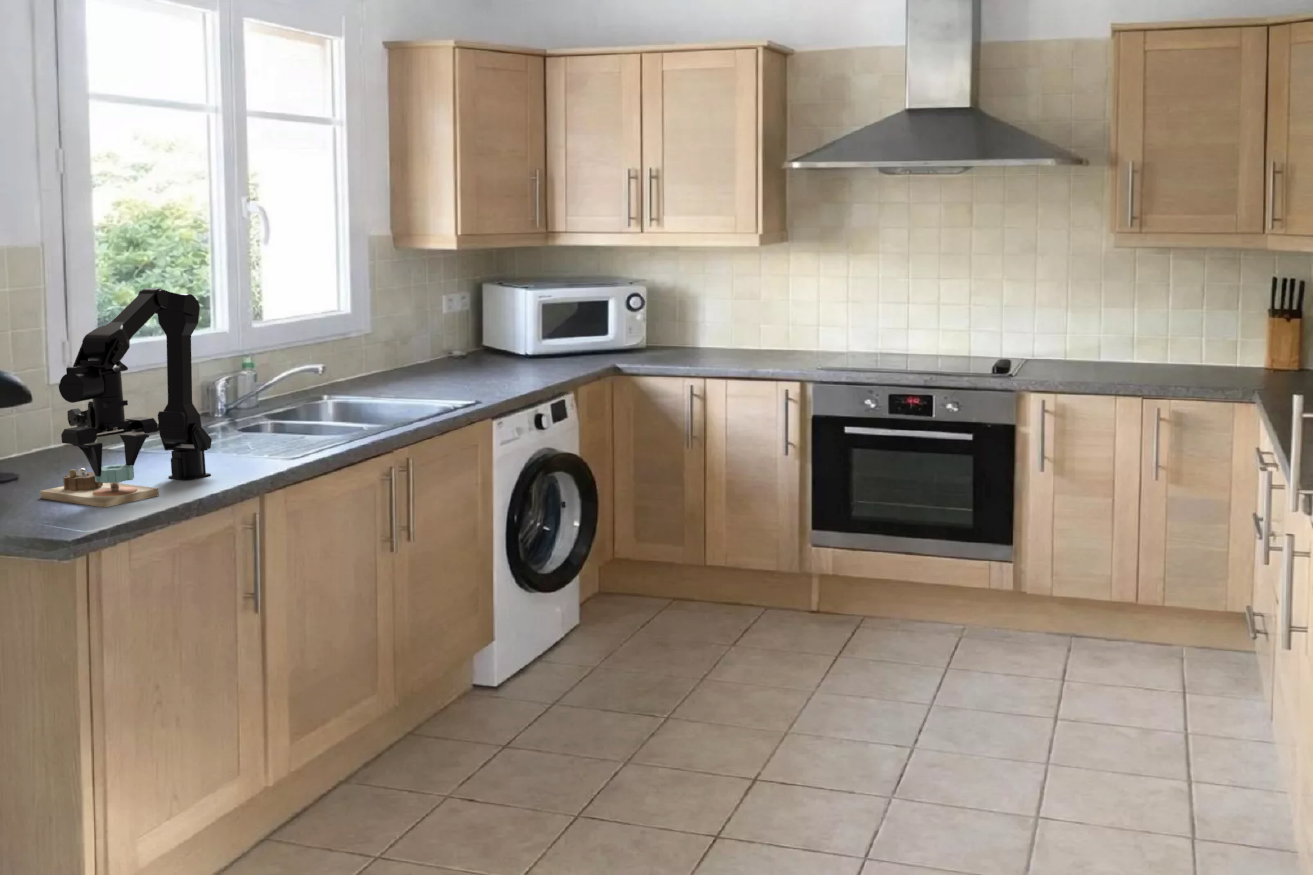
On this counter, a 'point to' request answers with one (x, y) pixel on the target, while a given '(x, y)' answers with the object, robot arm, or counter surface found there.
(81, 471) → the steel pegs
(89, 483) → the gear
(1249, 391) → the counter surface
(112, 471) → the loose gear
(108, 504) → the gear board
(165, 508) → the counter surface
